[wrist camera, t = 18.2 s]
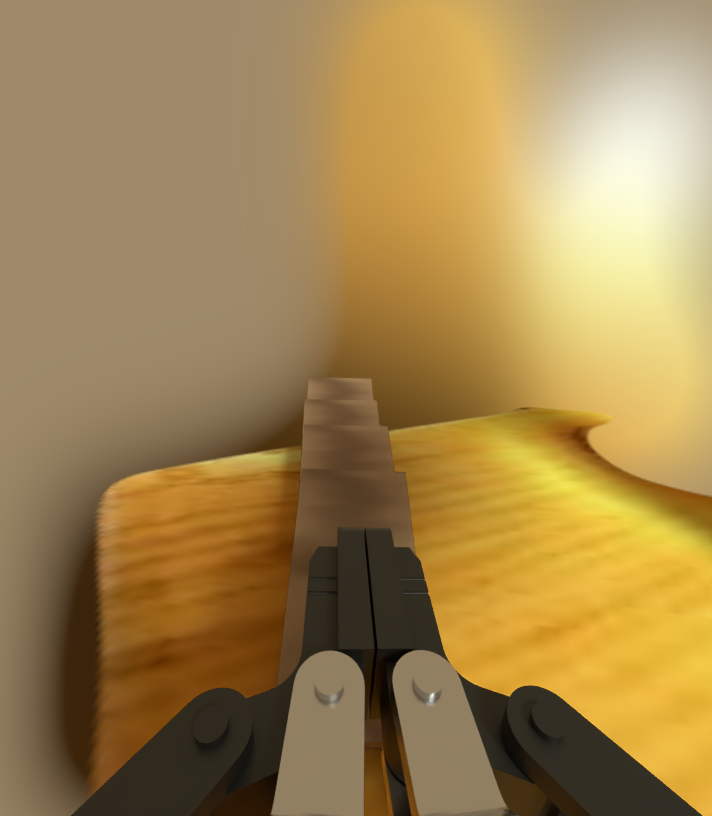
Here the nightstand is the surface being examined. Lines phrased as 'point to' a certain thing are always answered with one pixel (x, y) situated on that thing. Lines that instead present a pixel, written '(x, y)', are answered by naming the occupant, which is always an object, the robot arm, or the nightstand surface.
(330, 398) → the wooden domino
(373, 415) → the tile
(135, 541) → the nightstand surface
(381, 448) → the tile
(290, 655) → the loose tile
